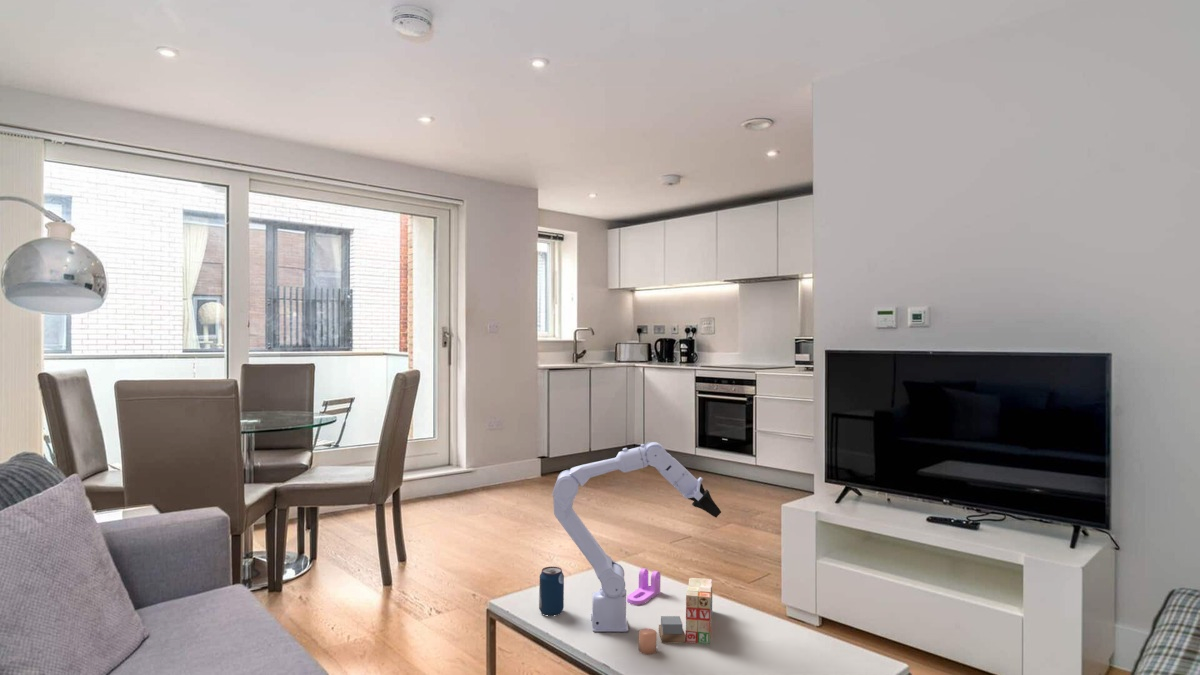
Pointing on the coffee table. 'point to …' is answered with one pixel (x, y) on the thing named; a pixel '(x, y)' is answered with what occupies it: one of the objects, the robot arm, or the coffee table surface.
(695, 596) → the stack of blocks
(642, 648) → the terracotta cylinder
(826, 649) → the coffee table surface
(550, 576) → the soda can
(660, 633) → the tower base
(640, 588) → the bracket
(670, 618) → the tower top
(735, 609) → the coffee table surface
